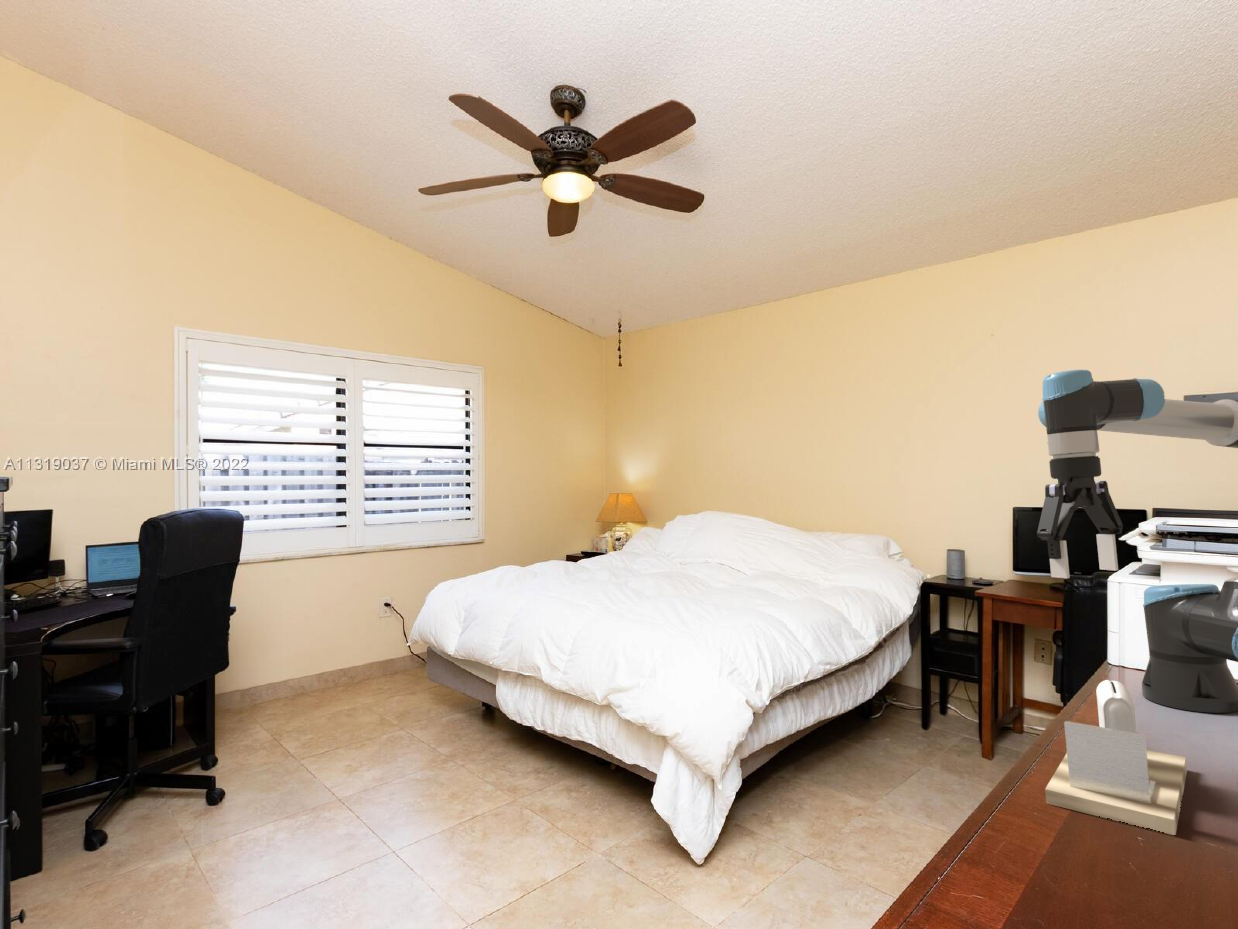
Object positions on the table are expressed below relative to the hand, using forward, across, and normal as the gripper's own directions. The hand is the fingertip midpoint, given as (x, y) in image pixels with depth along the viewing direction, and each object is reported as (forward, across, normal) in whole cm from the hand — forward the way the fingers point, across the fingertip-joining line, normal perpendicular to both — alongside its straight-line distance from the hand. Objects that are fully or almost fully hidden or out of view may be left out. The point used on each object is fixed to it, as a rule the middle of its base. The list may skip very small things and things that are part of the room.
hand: (1085, 573), depth 114 cm
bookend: (+27, +22, +15) cm, 38 cm away
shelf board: (+29, +17, +12) cm, 36 cm away
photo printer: (+27, +14, +11) cm, 32 cm away
